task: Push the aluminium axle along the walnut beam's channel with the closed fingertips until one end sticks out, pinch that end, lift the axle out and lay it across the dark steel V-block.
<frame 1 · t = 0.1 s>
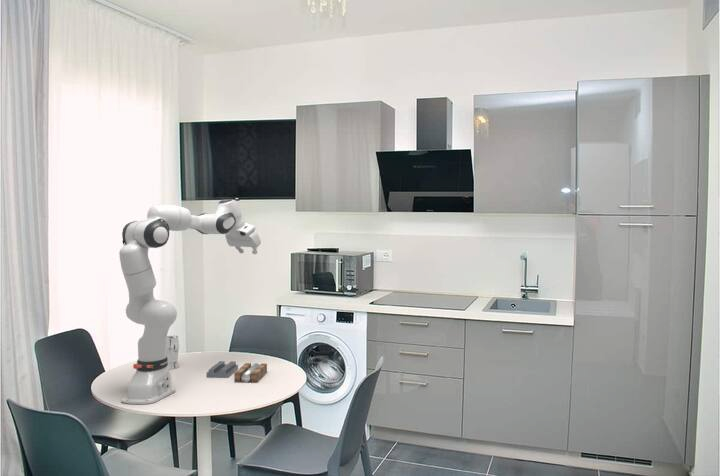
hand: (248, 253, 279), 54 cm above the table, tool tilted 30°, fingers open, 8 cm apart
beam: (251, 379, 252), on the table
v block: (222, 375, 259), on the table
beer glass: (171, 368, 272), on the table
axle: (251, 377, 252), point 1 cm above the table, touching beam
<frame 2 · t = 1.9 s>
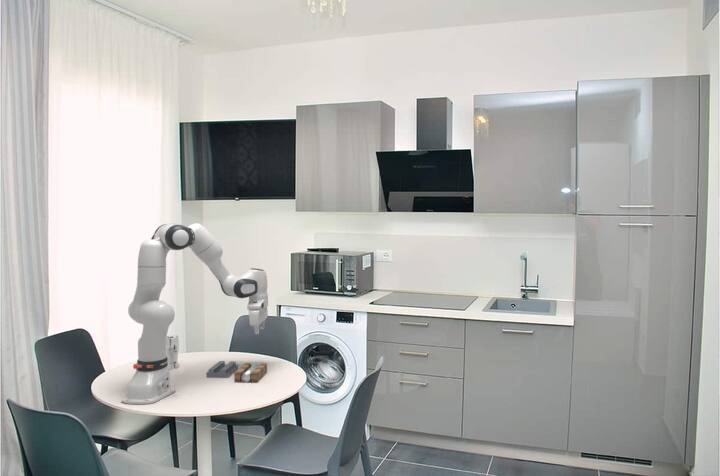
hand: (259, 331, 266), 18 cm above the table, tool pointing down, fingers open, 8 cm apart
nothing on the table moved.
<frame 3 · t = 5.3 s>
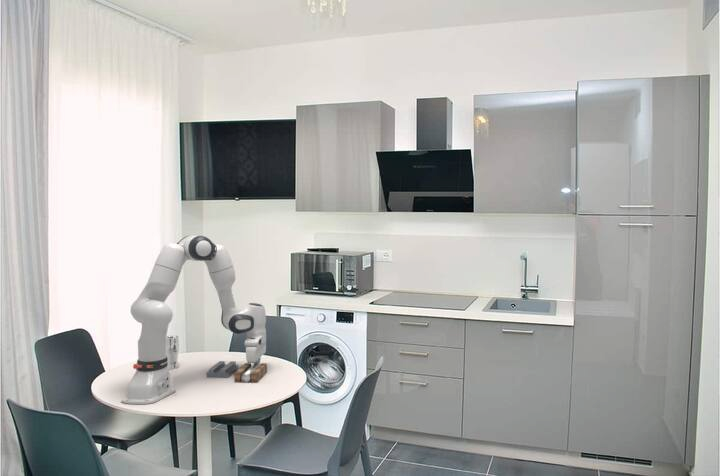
hand: (257, 367, 262), 3 cm above the table, tool pointing down, fingers closed
axle: (251, 377, 252), point 1 cm above the table, touching gripper
everything else where it was.
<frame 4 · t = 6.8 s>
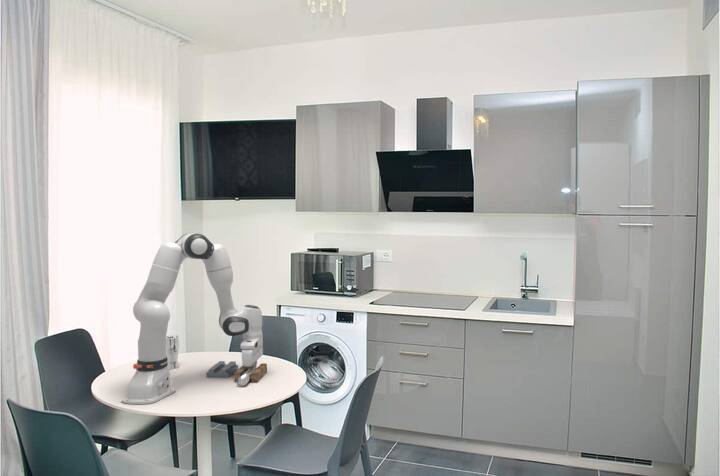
hand: (253, 370, 256), 3 cm above the table, tool pointing down, fingers closed
axle: (247, 381, 246), point 1 cm above the table, touching beam, gripper
everything else where it was.
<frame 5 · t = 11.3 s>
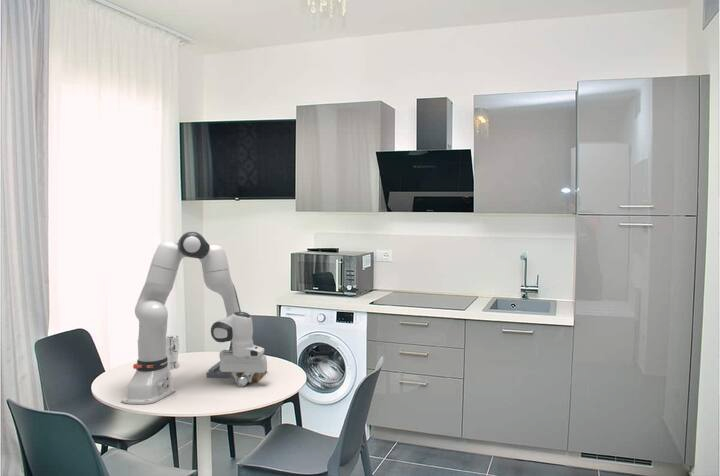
hand: (243, 382, 241), 2 cm above the table, tool pointing down, fingers closed on axle, 4 cm apart
axle: (246, 381, 246), point 1 cm above the table, touching beam, gripper
everything else where it was.
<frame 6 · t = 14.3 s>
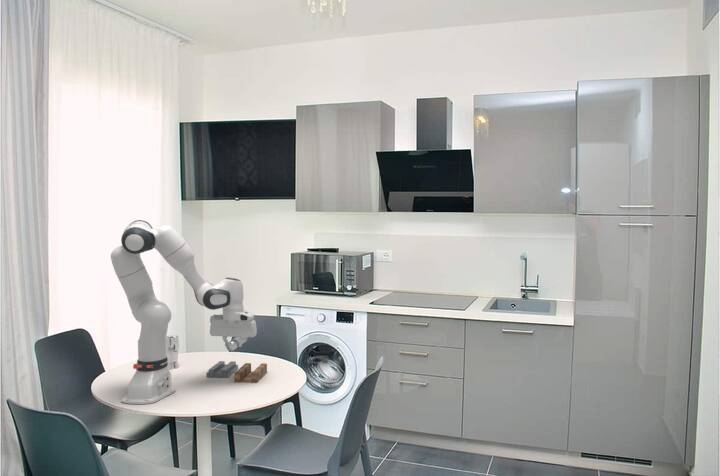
hand: (233, 346, 244), 17 cm above the table, tool pointing down, fingers closed on axle, 4 cm apart
axle: (237, 346, 249), point 15 cm above the table, touching gripper
everything else where it was.
when the fingers open (6 cm above the table, at t = 17.4 s): axle drops 1 cm, resting on v block.
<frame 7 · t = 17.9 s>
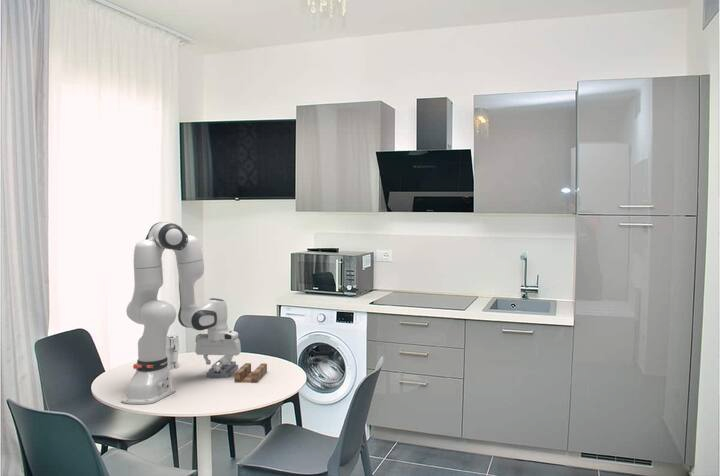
hand: (218, 364, 253), 6 cm above the table, tool pointing down, fingers open, 8 cm apart
axle: (221, 367, 258), point 4 cm above the table, tilted 9°, touching v block
everything else where it was.
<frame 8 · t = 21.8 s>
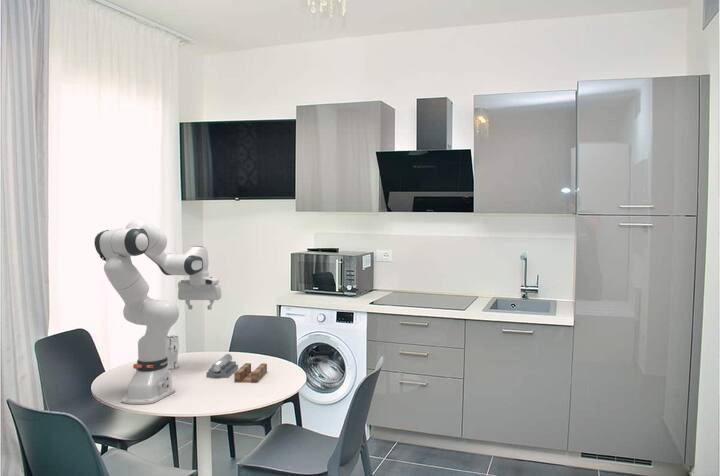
hand: (199, 309, 266), 29 cm above the table, tool pointing down, fingers open, 8 cm apart
nothing on the table moved.
at the end: axle 0.4 cm off-centre on the v block, point 3.9 cm above the v block's base; axle touching v block; the gripper is holding nothing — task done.
